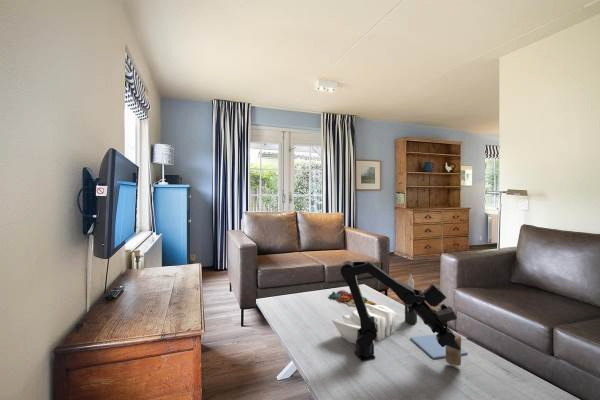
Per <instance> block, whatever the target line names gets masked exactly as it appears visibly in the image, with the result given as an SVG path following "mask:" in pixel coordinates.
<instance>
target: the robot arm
mask: <svg viewBox="0 0 600 400" xmlns="http://www.w3.org/2000/svg"><path fill="white" fill-rule="evenodd" d="M339 271H340V272H339V273H340V274H341V276H342V278H343V280H344V281H345V283H346V284H347V286H348V288H349V291H350V293H351V294H352V297H353V300H354V303H355V306H356V307H355V308H356V309H355V310H356V311H358V314H359V317H360V323H361V328H360V329H359V330H358V332H357V340H356V344H355V350H354V351H353V352H354V355H355V356H356V357H357V358H358V359H359V360H360V361H361V362H363V361H368V360H374V359H376V356H375V343H374V344H373V341H375V340H376V337H377V332H378V328H377V323H376V322H375V318H374V316H372V317H371V316H370V315H369V313H368V311H367V308H366V305H365V302H364V299H363V297H364V296H363V294H362V292H361V288H360V285H359V283H358V278H357V276H360V275H363V274H367V273H368V274H369V275H371V276H372V277H374V278H375V279H376V280H378V281H379V282H380V283H382V284H383V285H384V286H386V287H387V288H389V290H391V291H393V292H394V294H395V295H396V296H397V297H398V299H400V300H401V301H402V302H403V303H404V305H405V304H407V310H408V313H409V314H410V313H411V312H412V311H414V312H415V313H416V314H417V317H419V318H420V319H421V320H422V322H423V323H424V325H426V326H427V327H428V328H429V329H430V330H431V332H432V333H433V334H437V335H436V339H437V341H438V343H439V344H440V345H441V346H442V347H444V346H446V345H447V346H450V347H452V348H455V349H457V350H459V349H461V348H462V347H461V348H460V347H459V345H458V344H457V342H456V341H455V337H456V336H455V335H454V333H455V332H454V331H453V330H451V329H450V327H448V322H451V321H456V320H458V317H457V315H456V313H455V310H454V309H453V308H452V307H451V306H449V305H448V306H447V305H446V304H445V303H442V302H443V301H445V300H446V299H447V298H448V297H447V296H446V294H445V293H444V292H443V291H442V290H441V289H440V288H438V287H437V286H436V285H435V284H433V283H431V284H430V285H429V286H428V287H427V288H426V289H425V290H424V291H422V290H420V289H416V288H414V289H413V288H412V287H410V286H408V284H406V283H404V282H401V281H399V280H396V279H395V278H394V277H392V275H389V274H388V273H387V272H385V271H384V270H383V269H381V268H380V267H378V266H377V265H376V264H374V263H373V262H372V261H370V260H366V261H351V260H346V261H344V262H343V263H342V264H341V268H340V270H339ZM441 303H442V304H441ZM439 305H440V307H439V309H438V310H436V309H434V308H436V307H437V306H439ZM431 307H433V308H431Z"/></svg>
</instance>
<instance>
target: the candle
mask: <svg viewBox="0 0 600 400" xmlns="http://www.w3.org/2000/svg"><path fill="white" fill-rule="evenodd" d="M407 285H408V286H410V287H412V288H413V289H415V281H414V279H413V276H412V273H411V274H409V278H408V280H407ZM404 323H405V324H409V325H412V326H414V325H415V326H416V323H418V315H417V314H416V313H415V312H414V311H412V312H411V313H410V314H409V313H408V310H407V304H405V303H404Z"/></svg>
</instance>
